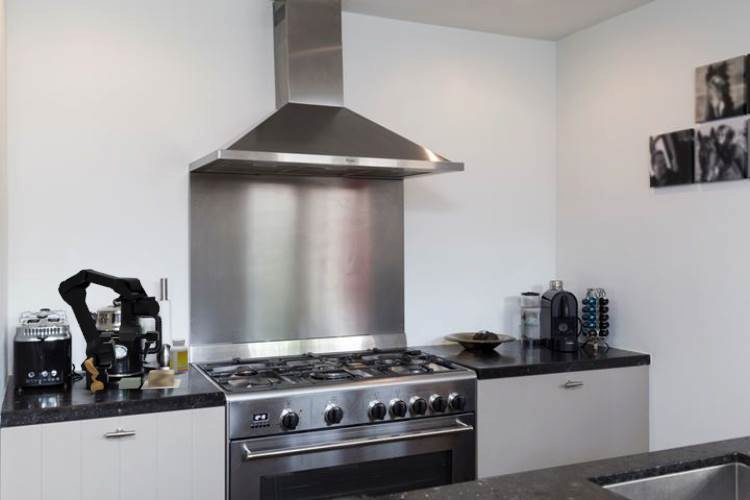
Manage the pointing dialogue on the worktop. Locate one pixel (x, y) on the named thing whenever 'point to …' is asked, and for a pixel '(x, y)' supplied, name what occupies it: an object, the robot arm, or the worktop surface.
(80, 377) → the worktop surface
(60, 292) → the robot arm
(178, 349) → the supplement bottle
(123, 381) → the sage brick
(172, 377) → the wood brick
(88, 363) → the figurine
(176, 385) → the baseplate
